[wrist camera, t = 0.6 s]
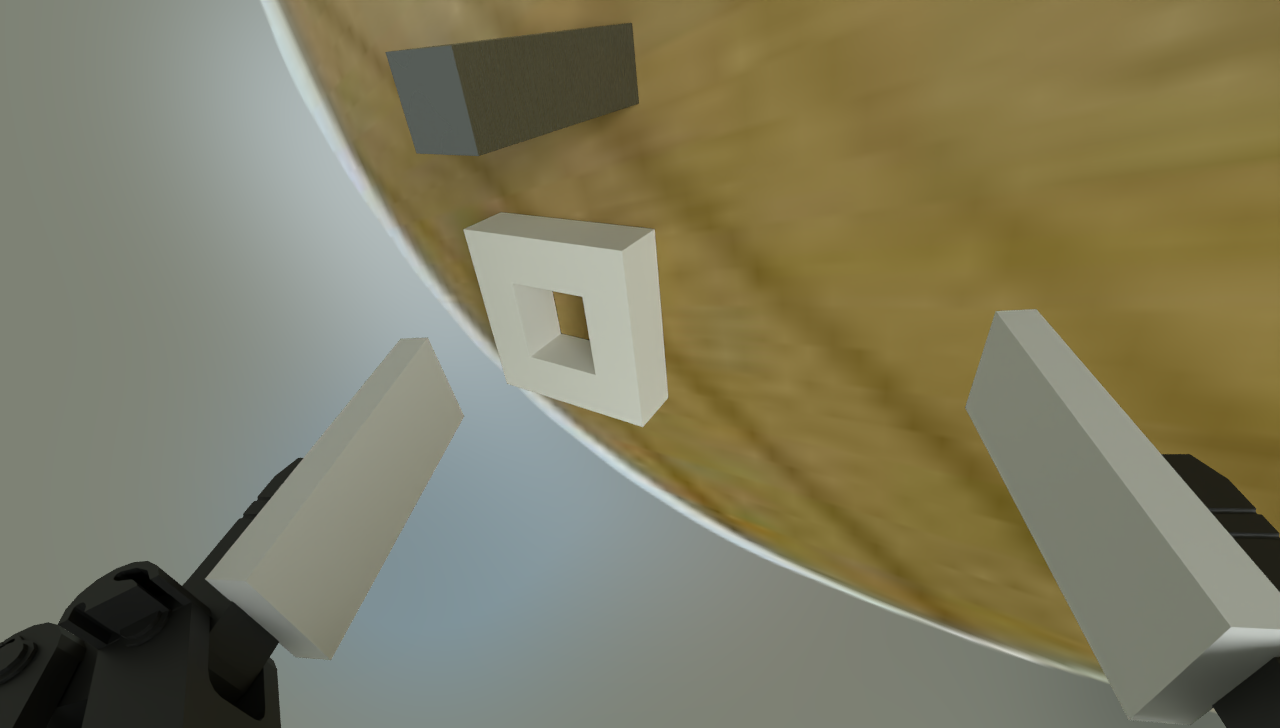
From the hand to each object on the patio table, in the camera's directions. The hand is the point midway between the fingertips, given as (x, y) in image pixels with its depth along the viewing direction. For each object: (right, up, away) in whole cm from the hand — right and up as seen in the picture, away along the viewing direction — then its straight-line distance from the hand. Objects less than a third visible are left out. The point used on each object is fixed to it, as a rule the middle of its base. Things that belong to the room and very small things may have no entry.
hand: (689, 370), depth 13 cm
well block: (-6, +5, +29) cm, 30 cm away
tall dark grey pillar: (-3, +18, +18) cm, 26 cm away
